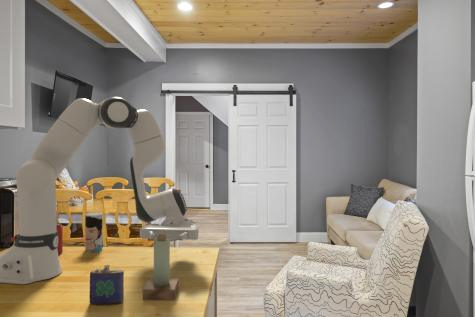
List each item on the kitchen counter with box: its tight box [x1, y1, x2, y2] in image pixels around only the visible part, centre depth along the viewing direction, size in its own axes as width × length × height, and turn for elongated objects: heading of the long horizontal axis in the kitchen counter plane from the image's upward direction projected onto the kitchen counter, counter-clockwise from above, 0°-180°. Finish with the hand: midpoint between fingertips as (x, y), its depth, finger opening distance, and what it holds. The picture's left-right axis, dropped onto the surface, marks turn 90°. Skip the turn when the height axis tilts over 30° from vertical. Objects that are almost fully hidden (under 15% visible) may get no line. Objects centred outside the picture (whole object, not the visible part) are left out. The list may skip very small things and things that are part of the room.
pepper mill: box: [153, 234, 171, 287], centre depth 110 cm, size 5×5×15 cm
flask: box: [89, 264, 125, 306], centre depth 103 cm, size 9×3×11 cm, turn 95°
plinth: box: [142, 277, 180, 301], centre depth 111 cm, size 9×9×3 cm
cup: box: [84, 212, 104, 252], centre depth 155 cm, size 7×7×15 cm
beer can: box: [56, 222, 63, 255], centre depth 149 cm, size 7×7×12 cm
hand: (166, 237), depth 123 cm, fingers open, 8 cm apart
